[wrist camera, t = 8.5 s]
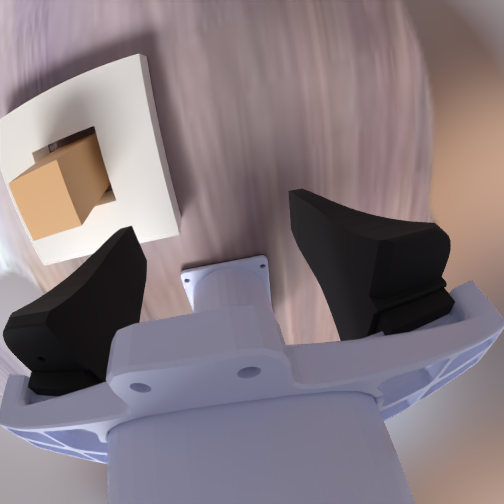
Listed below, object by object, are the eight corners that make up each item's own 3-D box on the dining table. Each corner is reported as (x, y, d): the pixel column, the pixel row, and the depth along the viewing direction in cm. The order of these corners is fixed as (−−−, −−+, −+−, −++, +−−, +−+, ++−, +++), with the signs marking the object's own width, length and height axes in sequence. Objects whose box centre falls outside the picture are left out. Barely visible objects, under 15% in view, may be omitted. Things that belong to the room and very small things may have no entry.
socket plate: (181, 218, 21) (179, 234, 19) (53, 249, 20) (43, 265, 18) (146, 56, 14) (139, 53, 12) (5, 120, 13) (-12, 127, 11)
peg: (113, 179, 18) (82, 225, 13) (72, 193, 18) (33, 240, 13) (99, 131, 16) (56, 159, 10) (57, 148, 16) (8, 183, 10)
